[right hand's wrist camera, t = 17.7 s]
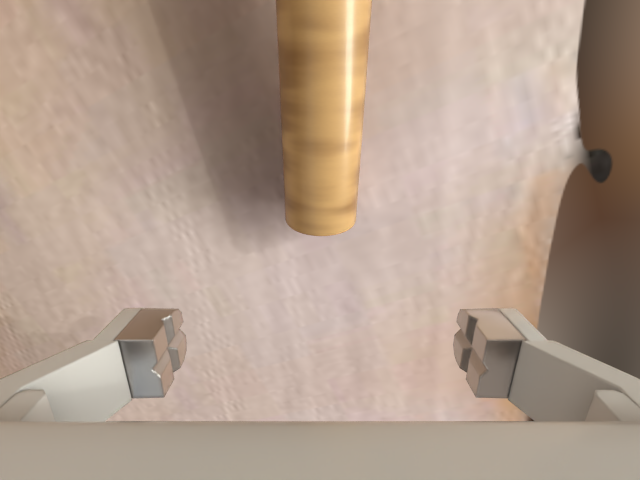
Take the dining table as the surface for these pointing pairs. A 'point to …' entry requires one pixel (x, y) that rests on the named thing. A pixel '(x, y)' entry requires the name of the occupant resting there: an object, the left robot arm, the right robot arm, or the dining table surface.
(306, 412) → the dining table surface
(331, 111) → the rod
